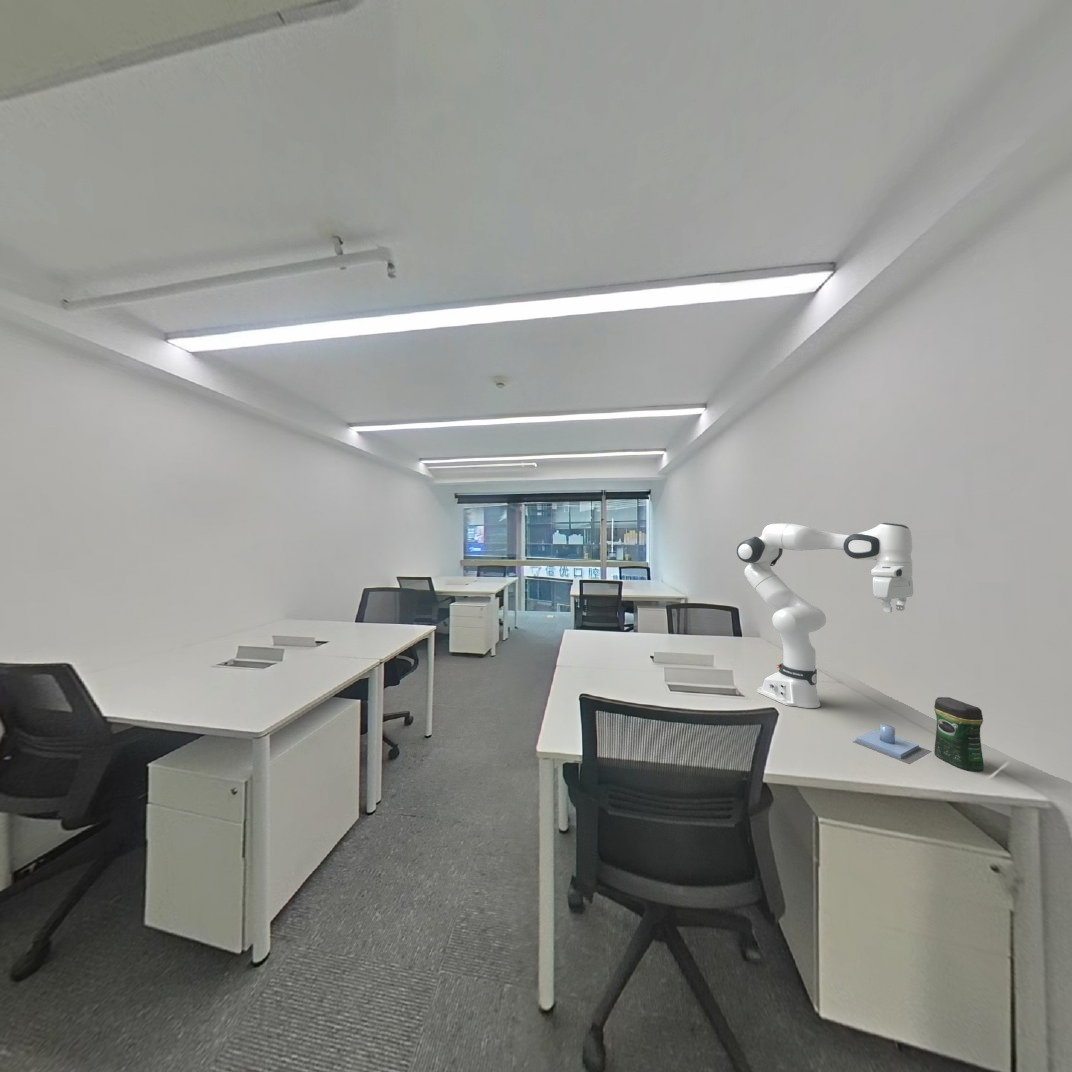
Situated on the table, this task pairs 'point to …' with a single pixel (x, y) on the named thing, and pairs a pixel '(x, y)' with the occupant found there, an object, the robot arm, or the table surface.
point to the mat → (907, 759)
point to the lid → (888, 741)
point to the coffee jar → (958, 734)
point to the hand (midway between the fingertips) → (894, 611)
